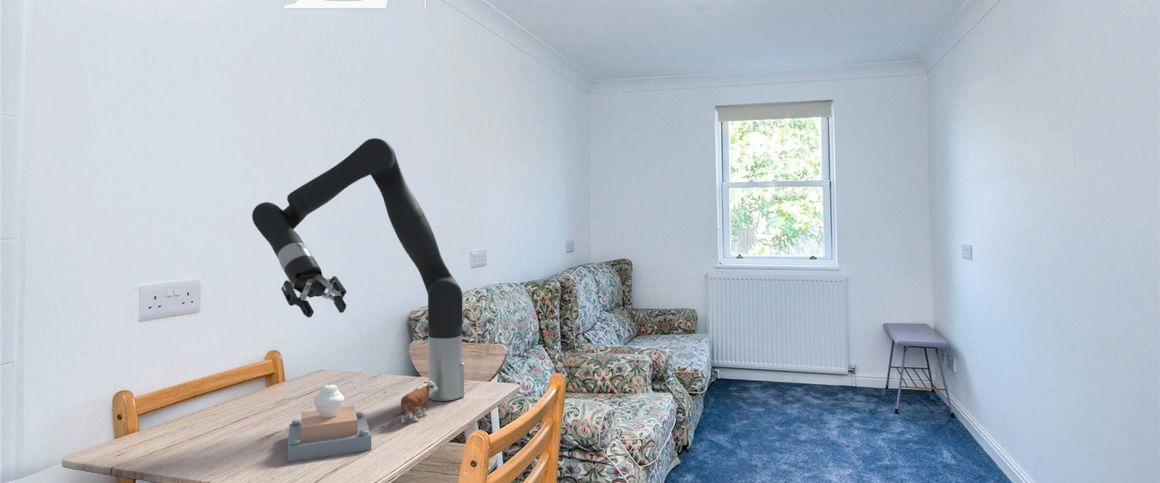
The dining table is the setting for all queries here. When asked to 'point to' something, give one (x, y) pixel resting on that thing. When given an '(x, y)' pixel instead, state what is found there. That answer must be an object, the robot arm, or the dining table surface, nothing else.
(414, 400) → the bull figurine
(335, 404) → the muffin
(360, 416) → the grey pegged tray
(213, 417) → the dining table surface
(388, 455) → the dining table surface
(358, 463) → the dining table surface
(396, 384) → the dining table surface
